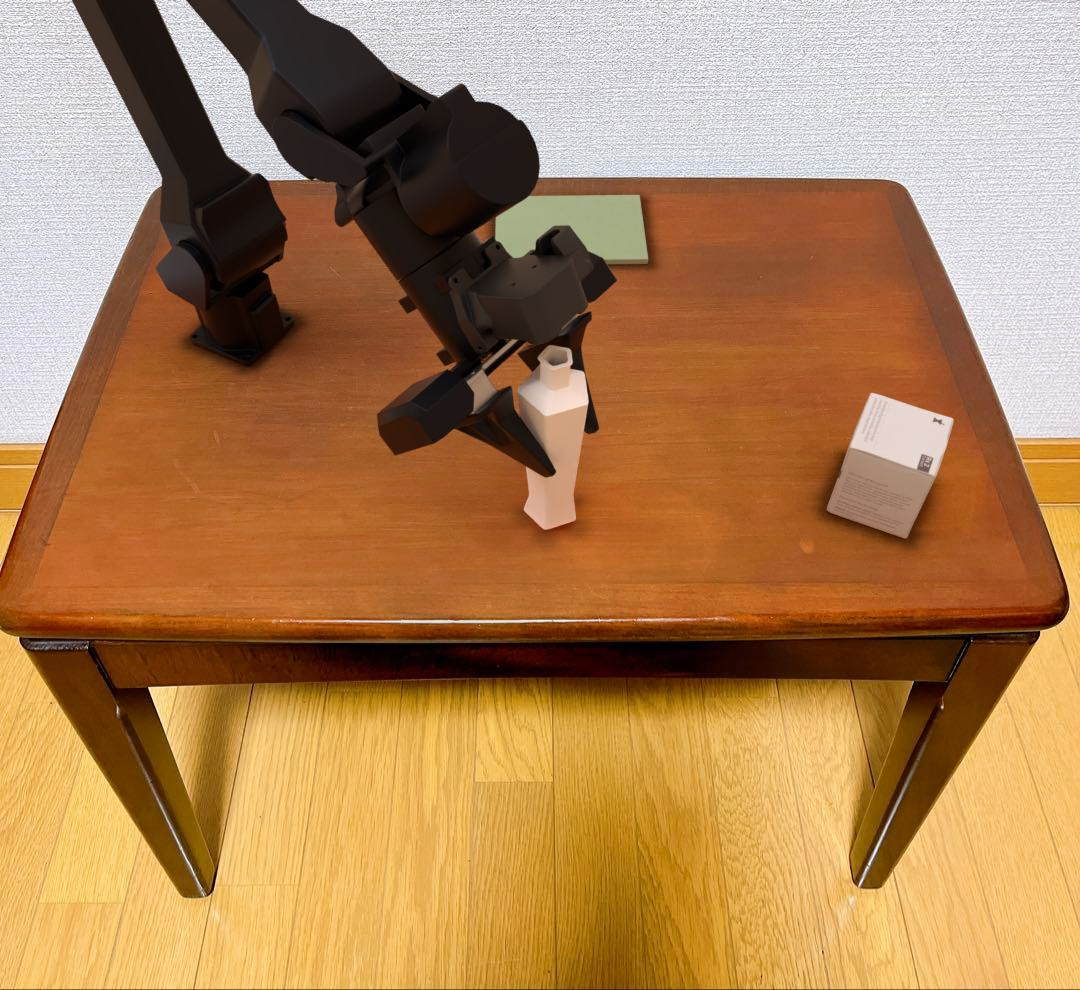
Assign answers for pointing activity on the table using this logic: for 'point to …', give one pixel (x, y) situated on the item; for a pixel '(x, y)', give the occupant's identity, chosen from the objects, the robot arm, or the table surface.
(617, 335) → the table surface
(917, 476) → the product carton
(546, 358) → the perfume bottle
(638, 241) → the mat
